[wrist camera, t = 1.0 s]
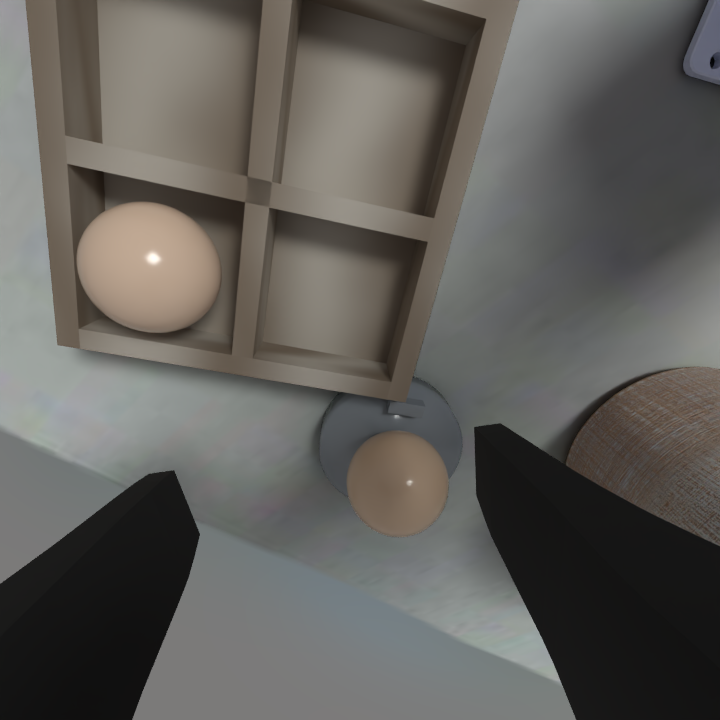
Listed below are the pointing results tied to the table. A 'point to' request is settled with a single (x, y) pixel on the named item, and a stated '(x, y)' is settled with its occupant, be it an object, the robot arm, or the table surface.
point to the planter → (659, 448)
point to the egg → (149, 267)
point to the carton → (270, 167)
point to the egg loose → (397, 483)
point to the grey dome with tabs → (386, 427)
